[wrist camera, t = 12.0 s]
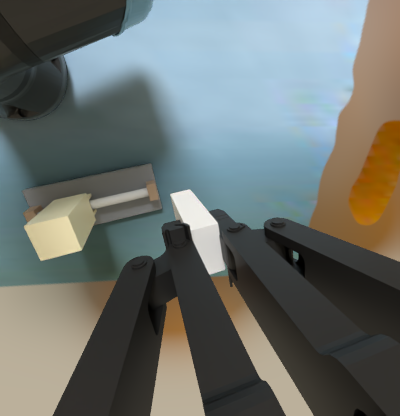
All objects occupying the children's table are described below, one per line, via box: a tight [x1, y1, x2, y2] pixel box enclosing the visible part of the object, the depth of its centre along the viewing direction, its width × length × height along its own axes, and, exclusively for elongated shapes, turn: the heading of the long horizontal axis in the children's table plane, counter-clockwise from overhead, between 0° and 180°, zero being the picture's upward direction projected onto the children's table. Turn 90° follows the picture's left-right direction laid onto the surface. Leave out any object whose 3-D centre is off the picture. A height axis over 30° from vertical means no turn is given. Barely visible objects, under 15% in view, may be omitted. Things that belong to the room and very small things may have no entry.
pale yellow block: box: [24, 193, 97, 261], centre depth 35 cm, size 5×5×14 cm
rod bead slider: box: [22, 163, 162, 225], centre depth 42 cm, size 22×9×5 cm, turn 100°
